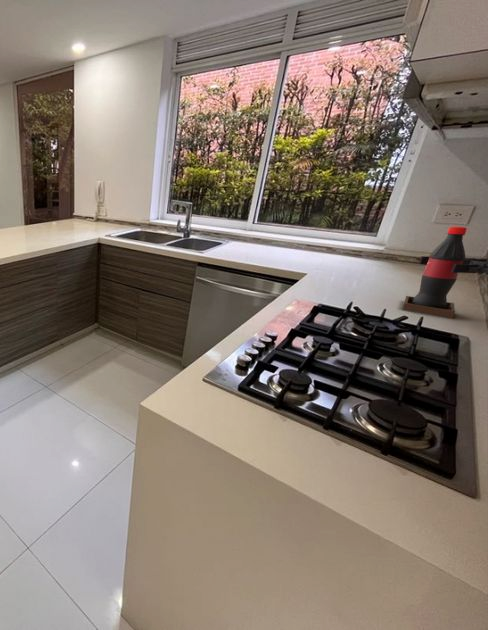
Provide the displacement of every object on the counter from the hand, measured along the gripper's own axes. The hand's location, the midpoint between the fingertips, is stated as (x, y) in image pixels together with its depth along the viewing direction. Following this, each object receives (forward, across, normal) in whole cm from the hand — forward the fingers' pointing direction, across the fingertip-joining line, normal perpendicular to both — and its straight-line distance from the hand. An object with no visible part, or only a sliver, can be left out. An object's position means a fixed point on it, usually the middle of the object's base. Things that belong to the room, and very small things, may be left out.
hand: (436, 264), depth 118 cm
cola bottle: (-3, 0, -18) cm, 18 cm away
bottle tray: (-2, 0, -18) cm, 18 cm away
